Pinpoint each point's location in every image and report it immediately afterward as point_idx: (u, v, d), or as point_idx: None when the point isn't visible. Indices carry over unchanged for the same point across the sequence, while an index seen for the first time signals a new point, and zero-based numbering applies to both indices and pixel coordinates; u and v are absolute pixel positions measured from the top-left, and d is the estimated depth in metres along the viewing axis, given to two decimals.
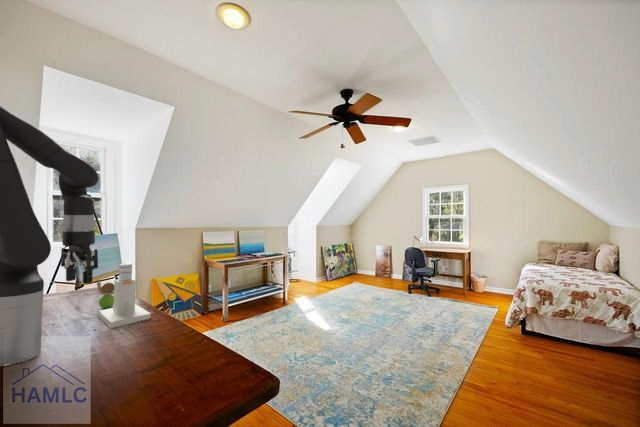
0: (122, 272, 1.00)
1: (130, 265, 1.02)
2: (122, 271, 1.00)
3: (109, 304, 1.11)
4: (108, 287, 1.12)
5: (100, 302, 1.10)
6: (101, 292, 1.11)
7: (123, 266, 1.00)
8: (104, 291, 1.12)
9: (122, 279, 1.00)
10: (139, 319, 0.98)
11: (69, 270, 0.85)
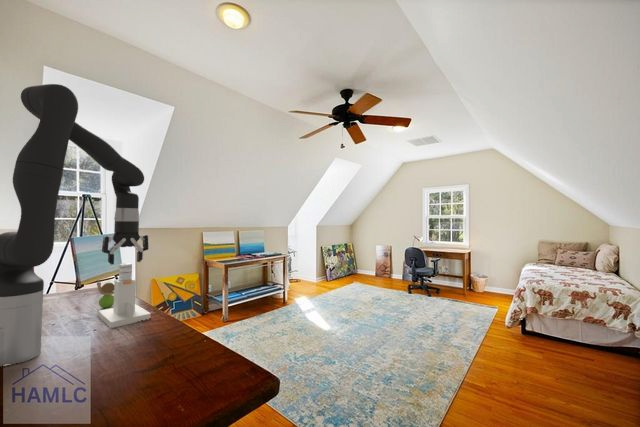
0: (122, 272, 1.00)
1: (130, 265, 1.02)
2: (122, 271, 1.00)
3: (109, 304, 1.11)
4: (108, 287, 1.12)
5: (100, 302, 1.10)
6: (101, 292, 1.11)
7: (123, 266, 1.00)
8: (104, 291, 1.12)
9: (122, 279, 1.00)
10: (139, 319, 0.98)
11: (113, 255, 0.99)
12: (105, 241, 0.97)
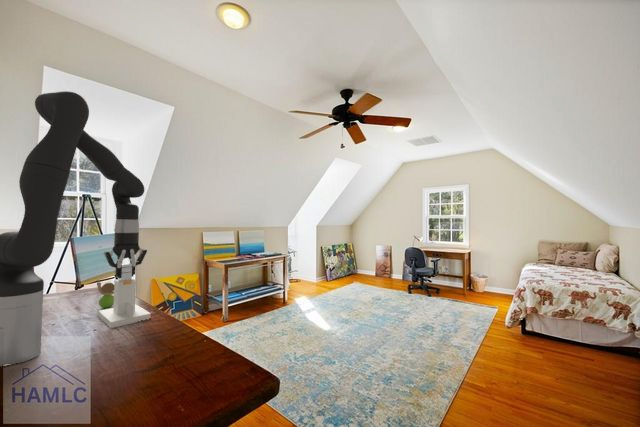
0: (122, 272, 1.00)
1: (130, 265, 1.02)
2: (122, 271, 1.00)
3: (109, 304, 1.11)
4: (108, 287, 1.12)
5: (100, 302, 1.10)
6: (101, 292, 1.11)
7: (123, 266, 1.00)
8: (104, 291, 1.12)
9: (122, 279, 1.00)
10: (139, 319, 0.98)
11: (121, 268, 1.01)
12: (108, 257, 0.97)
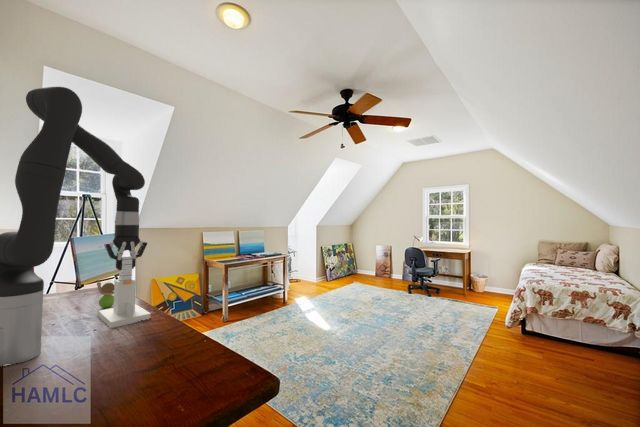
0: (122, 264, 1.00)
1: (130, 257, 1.02)
2: (122, 263, 1.00)
3: (109, 304, 1.11)
4: (108, 287, 1.12)
5: (100, 302, 1.10)
6: (101, 292, 1.11)
7: (123, 258, 1.01)
8: (104, 291, 1.12)
9: (122, 271, 1.00)
10: (139, 319, 0.98)
11: None
12: (108, 249, 0.97)
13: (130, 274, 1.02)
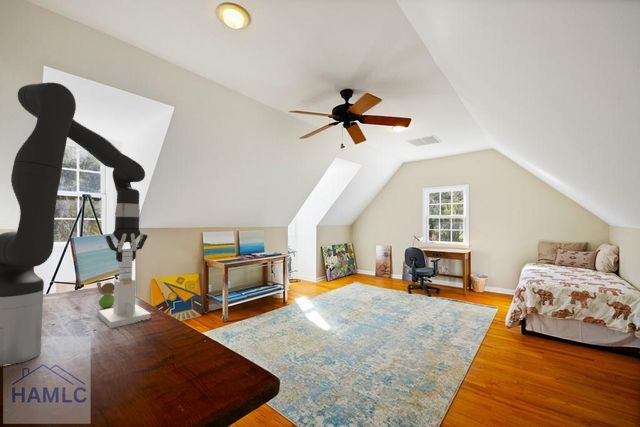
0: (123, 256, 1.00)
1: (131, 249, 1.02)
2: (123, 255, 1.00)
3: (109, 304, 1.11)
4: (108, 287, 1.12)
5: (100, 302, 1.10)
6: (101, 292, 1.11)
7: (124, 250, 1.01)
8: (104, 291, 1.12)
9: (123, 263, 1.00)
10: (139, 319, 0.98)
11: (121, 252, 1.01)
12: (108, 240, 0.97)
13: (130, 266, 1.02)
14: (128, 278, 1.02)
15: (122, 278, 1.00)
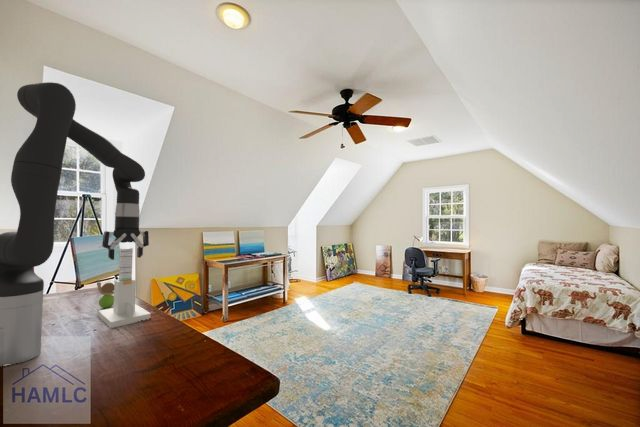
0: (123, 256, 1.00)
1: (131, 249, 1.02)
2: (123, 255, 1.00)
3: (109, 304, 1.11)
4: (108, 287, 1.12)
5: (100, 302, 1.10)
6: (101, 292, 1.11)
7: (124, 250, 1.01)
8: (104, 291, 1.12)
9: (123, 263, 1.00)
10: (139, 319, 0.98)
11: None
12: (105, 236, 0.97)
13: (130, 266, 1.02)
14: (128, 278, 1.02)
15: (122, 278, 1.00)
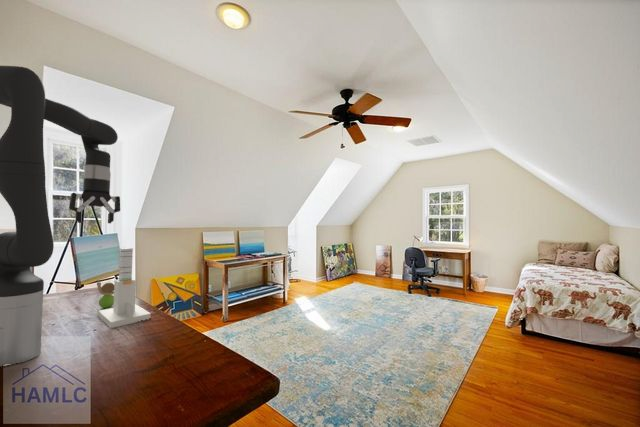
0: (123, 256, 1.00)
1: (131, 249, 1.02)
2: (123, 255, 1.00)
3: (109, 304, 1.11)
4: (108, 287, 1.12)
5: (100, 302, 1.10)
6: (101, 292, 1.11)
7: (124, 250, 1.01)
8: (104, 291, 1.12)
9: (123, 263, 1.00)
10: (139, 319, 0.98)
11: (81, 213, 0.95)
12: (72, 197, 0.93)
13: (130, 266, 1.02)
14: (128, 278, 1.02)
15: (122, 278, 1.00)
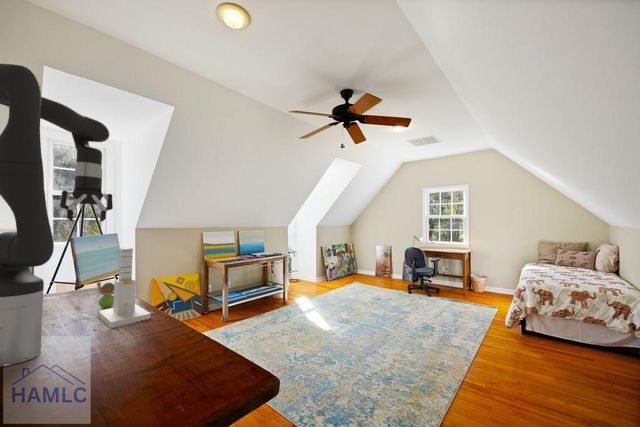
0: (123, 256, 1.00)
1: (131, 249, 1.02)
2: (123, 255, 1.00)
3: (109, 304, 1.11)
4: (108, 287, 1.12)
5: (100, 302, 1.10)
6: (101, 292, 1.11)
7: (124, 250, 1.01)
8: (104, 291, 1.12)
9: (123, 263, 1.00)
10: (139, 319, 0.98)
11: (72, 211, 0.94)
12: (63, 195, 0.92)
13: (130, 266, 1.02)
14: (128, 278, 1.02)
15: (122, 278, 1.00)
